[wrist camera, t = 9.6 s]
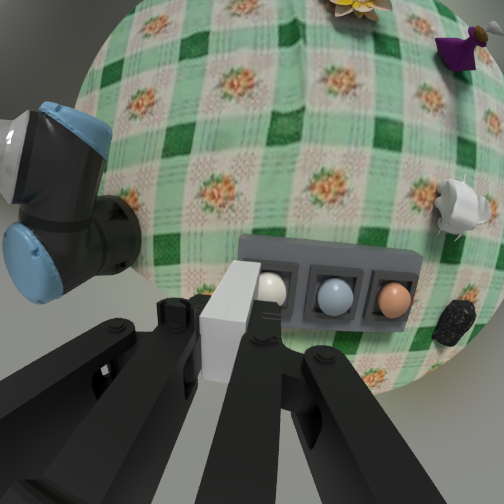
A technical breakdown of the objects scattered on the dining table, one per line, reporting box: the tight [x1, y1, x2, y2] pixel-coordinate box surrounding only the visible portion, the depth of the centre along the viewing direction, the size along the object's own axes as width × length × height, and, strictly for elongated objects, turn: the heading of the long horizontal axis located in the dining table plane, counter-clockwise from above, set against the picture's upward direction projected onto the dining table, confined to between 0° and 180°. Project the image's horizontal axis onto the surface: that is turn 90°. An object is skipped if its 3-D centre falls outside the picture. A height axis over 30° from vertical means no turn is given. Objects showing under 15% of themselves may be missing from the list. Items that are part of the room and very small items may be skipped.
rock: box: [432, 300, 477, 347], centre depth 41 cm, size 7×10×6 cm
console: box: [238, 234, 423, 332], centre depth 42 cm, size 30×14×6 cm, turn 86°
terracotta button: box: [377, 282, 411, 318], centre depth 38 cm, size 5×5×2 cm
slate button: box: [317, 277, 353, 316], centre depth 39 cm, size 5×5×2 cm
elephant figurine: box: [434, 174, 491, 242], centre depth 35 cm, size 10×12×9 cm
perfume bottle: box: [435, 21, 504, 72], centre depth 22 cm, size 8×8×18 cm
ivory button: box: [258, 271, 286, 306], centre depth 40 cm, size 5×5×2 cm
